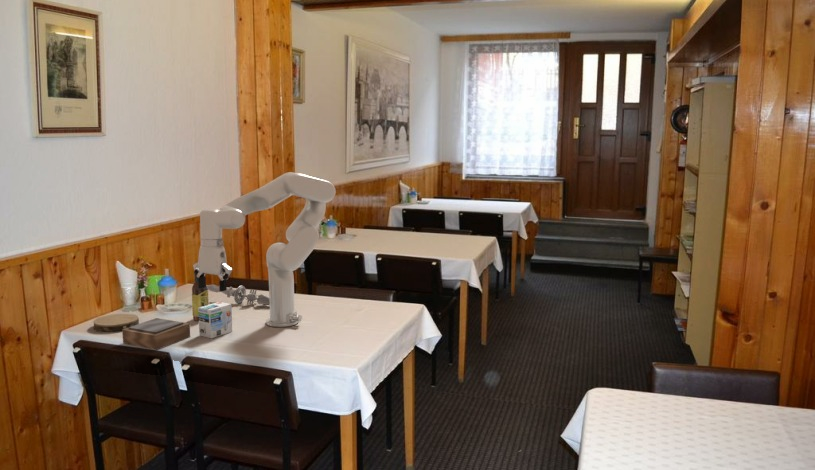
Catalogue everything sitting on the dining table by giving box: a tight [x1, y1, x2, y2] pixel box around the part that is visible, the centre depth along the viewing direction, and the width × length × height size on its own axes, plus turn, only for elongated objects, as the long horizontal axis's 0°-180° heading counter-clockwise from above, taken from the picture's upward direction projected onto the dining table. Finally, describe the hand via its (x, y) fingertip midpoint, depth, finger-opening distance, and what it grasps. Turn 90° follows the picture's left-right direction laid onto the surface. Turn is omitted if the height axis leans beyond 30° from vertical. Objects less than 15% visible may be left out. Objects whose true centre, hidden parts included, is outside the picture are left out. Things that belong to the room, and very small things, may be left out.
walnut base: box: [121, 317, 191, 351], centre depth 240 cm, size 16×16×6 cm
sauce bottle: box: [191, 270, 210, 322], centre depth 264 cm, size 7×6×20 cm
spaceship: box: [207, 284, 270, 306], centre depth 290 cm, size 8×35×8 cm
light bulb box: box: [198, 301, 233, 339], centre depth 247 cm, size 11×7×11 cm, turn 148°
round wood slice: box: [93, 313, 140, 333], centre depth 257 cm, size 16×16×3 cm
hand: (212, 289), depth 245 cm, fingers open, 9 cm apart
